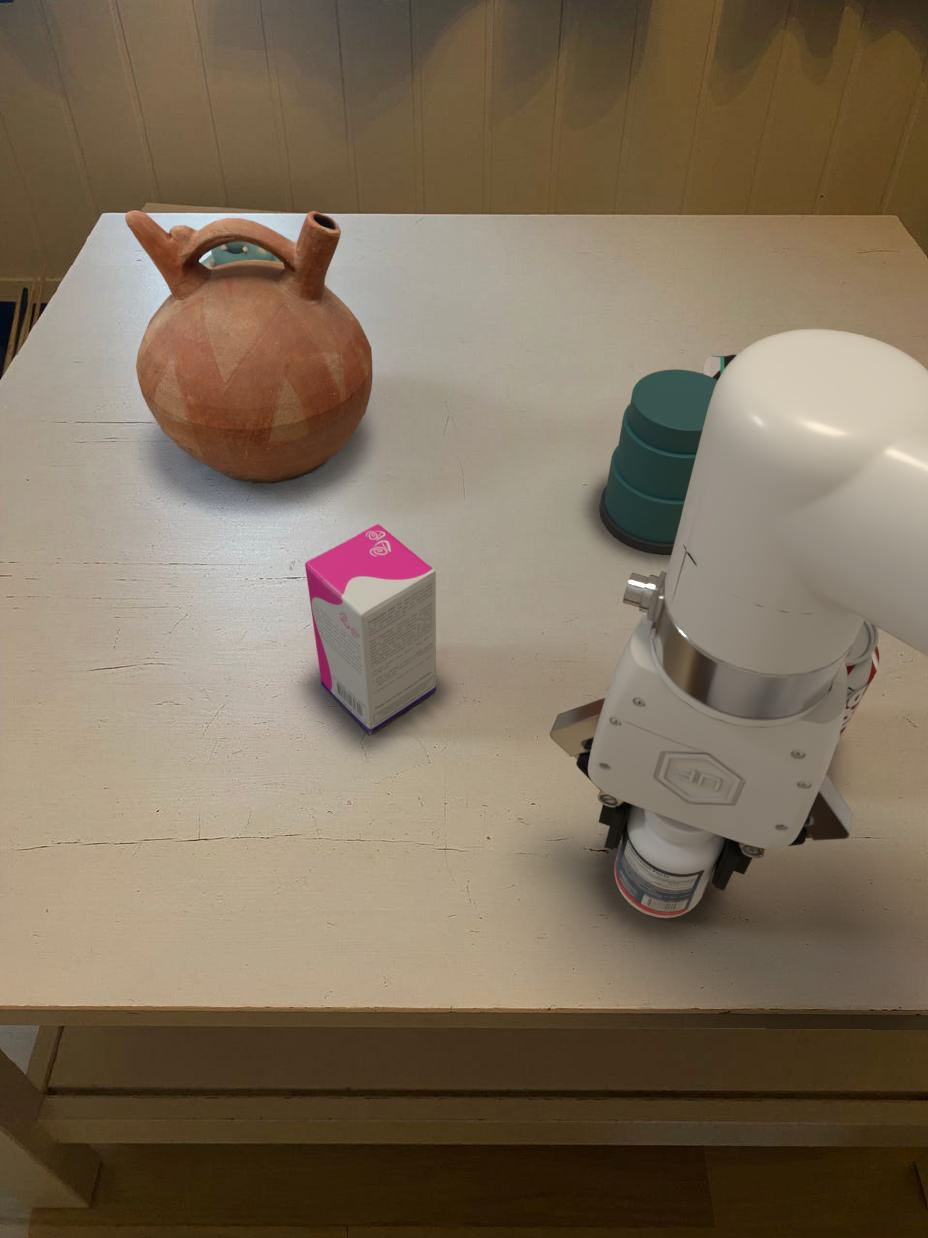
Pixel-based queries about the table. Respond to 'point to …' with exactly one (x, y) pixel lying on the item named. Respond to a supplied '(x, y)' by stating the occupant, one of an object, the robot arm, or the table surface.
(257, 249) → the stuffed animal
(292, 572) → the table surface
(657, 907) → the pill bottle
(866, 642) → the soda can
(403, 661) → the supplement box
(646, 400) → the cup stack
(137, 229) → the jug
